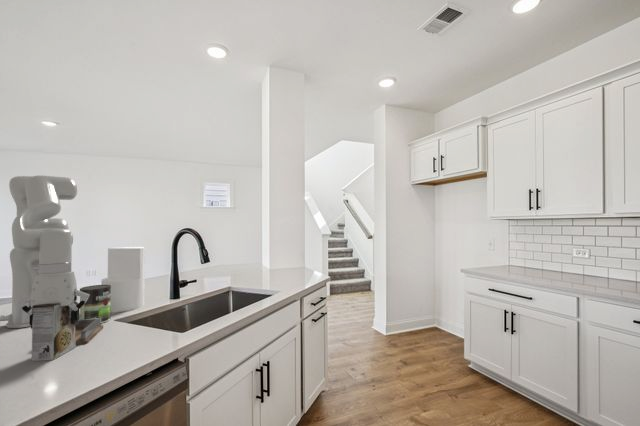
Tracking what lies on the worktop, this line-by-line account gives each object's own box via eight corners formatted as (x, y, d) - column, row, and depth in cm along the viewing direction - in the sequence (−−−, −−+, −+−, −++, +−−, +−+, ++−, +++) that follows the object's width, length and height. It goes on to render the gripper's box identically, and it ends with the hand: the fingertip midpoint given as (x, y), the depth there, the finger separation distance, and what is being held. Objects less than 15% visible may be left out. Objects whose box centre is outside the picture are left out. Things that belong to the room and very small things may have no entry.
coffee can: (117, 318, 127) (117, 284, 127) (94, 326, 117) (94, 290, 117) (96, 317, 129) (97, 284, 129) (72, 325, 119) (72, 289, 119)
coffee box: (55, 348, 97) (55, 297, 97) (76, 347, 97) (76, 297, 98) (30, 361, 88) (31, 305, 88) (53, 360, 88) (54, 304, 89)
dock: (38, 349, 96) (38, 336, 96) (61, 332, 111) (61, 321, 111) (87, 343, 100) (87, 331, 100) (103, 327, 115) (103, 317, 115)
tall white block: (121, 301, 154) (121, 246, 155) (152, 302, 152) (152, 246, 152) (91, 311, 137) (92, 250, 138) (125, 312, 134) (126, 250, 135)
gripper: (12, 272, 87) (11, 333, 86) (84, 268, 93) (84, 324, 92) (27, 269, 94) (26, 325, 93) (93, 265, 100) (93, 318, 99)
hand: (55, 325), depth 92 cm, fingers open, 9 cm apart
